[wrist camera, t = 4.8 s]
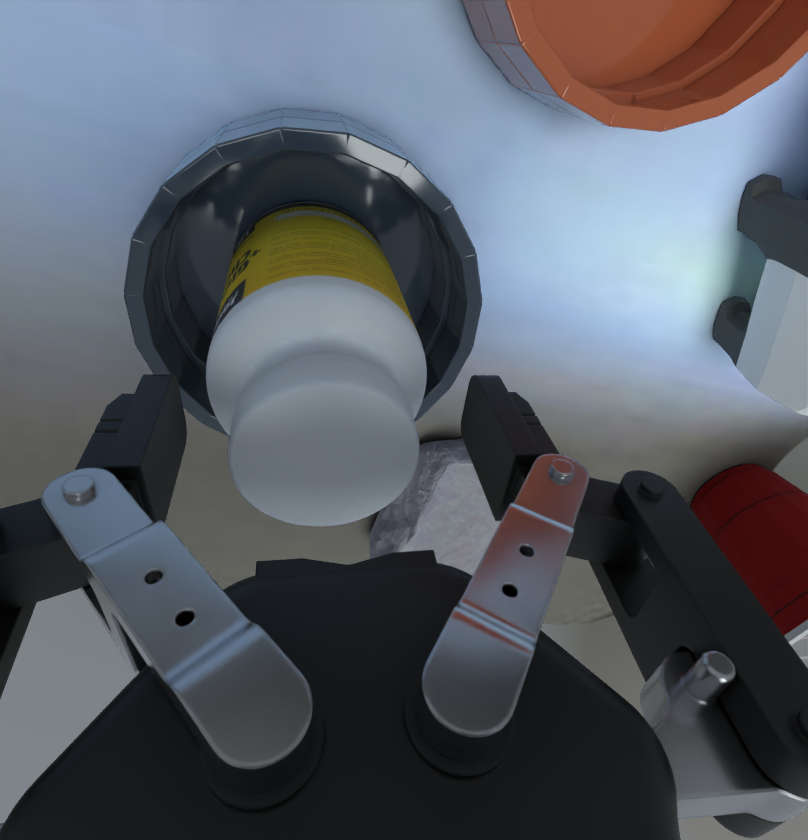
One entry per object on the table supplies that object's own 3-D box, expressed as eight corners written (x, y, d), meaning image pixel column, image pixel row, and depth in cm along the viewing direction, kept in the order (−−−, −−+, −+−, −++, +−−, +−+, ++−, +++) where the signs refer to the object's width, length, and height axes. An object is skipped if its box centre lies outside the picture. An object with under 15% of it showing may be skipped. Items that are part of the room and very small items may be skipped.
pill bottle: (265, 163, 19) (243, 293, 10) (415, 243, 21) (507, 404, 12) (208, 312, 22) (150, 519, 13) (346, 366, 24) (379, 568, 15)
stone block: (409, 407, 29) (355, 547, 32) (438, 449, 25) (372, 604, 28) (571, 444, 34) (508, 563, 37) (617, 484, 30) (542, 613, 33)
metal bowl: (180, 396, 24) (161, 459, 21) (122, 91, 17) (79, 108, 13) (431, 393, 27) (452, 449, 23) (474, 125, 19) (515, 147, 16)
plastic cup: (708, 426, 32) (882, 593, 23) (834, 439, 35) (1034, 590, 26) (626, 542, 38) (736, 711, 29) (739, 544, 41) (872, 697, 32)
